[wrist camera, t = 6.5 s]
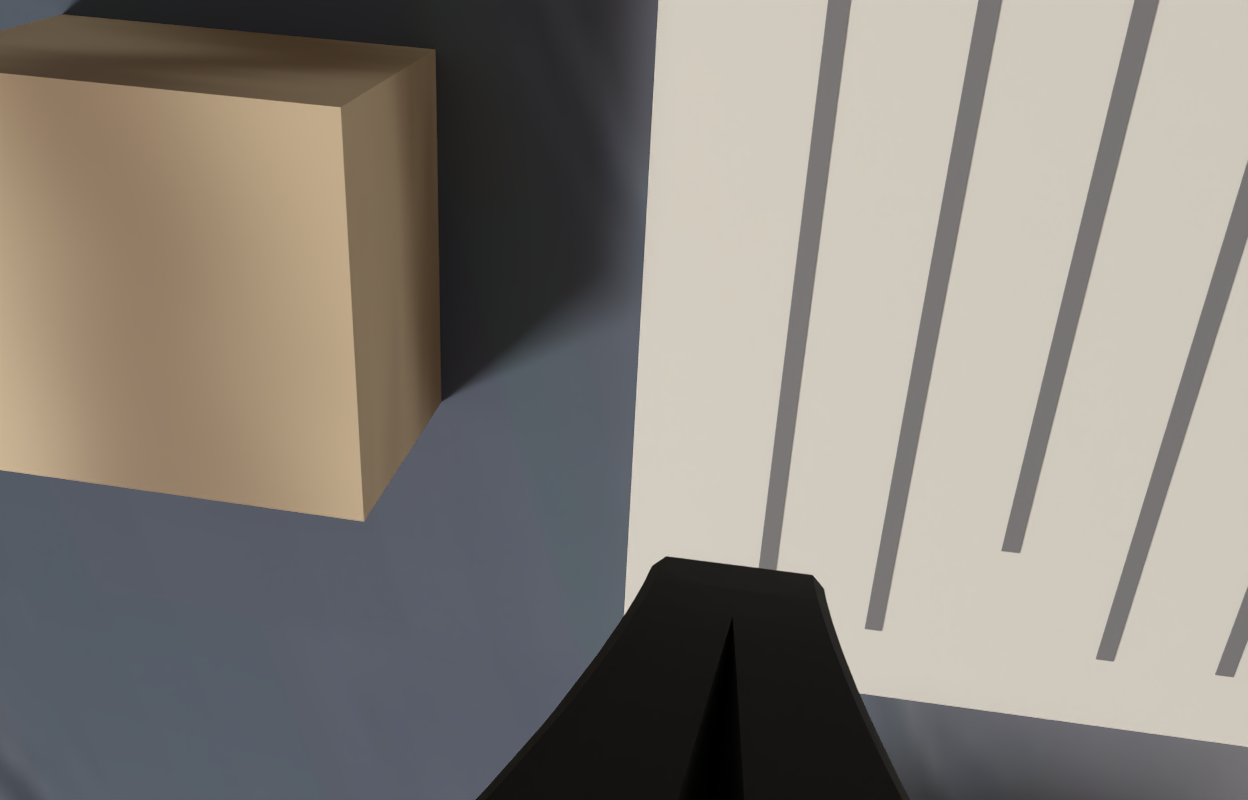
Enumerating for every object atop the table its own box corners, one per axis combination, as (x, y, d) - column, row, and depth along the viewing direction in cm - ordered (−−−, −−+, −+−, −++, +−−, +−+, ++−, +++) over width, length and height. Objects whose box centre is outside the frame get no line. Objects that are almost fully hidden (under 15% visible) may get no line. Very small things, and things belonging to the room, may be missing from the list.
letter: (1727, -302, 13) (1740, -304, 13) (1284, 744, 20) (1288, 753, 20) (679, -340, 14) (677, -341, 14) (622, 653, 22) (621, 661, 22)
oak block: (439, 47, 17) (340, 107, 14) (444, 397, 20) (363, 521, 16) (69, 12, 18) (-116, 62, 14) (125, 356, 21) (-18, 466, 17)
